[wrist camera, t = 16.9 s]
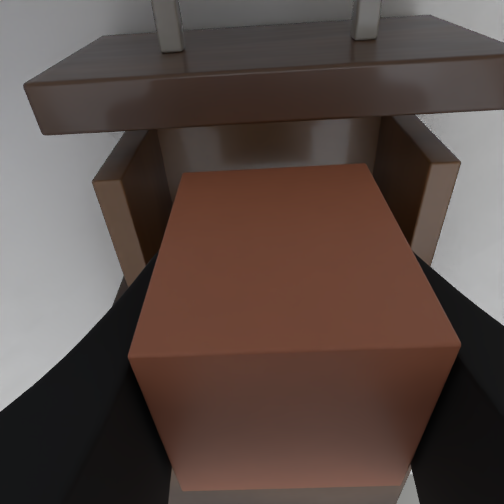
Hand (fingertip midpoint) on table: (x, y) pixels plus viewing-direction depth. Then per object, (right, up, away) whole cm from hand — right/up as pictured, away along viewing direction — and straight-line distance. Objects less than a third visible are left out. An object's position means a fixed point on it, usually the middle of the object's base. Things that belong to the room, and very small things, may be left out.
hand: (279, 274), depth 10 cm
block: (0, +1, +1) cm, 1 cm away
